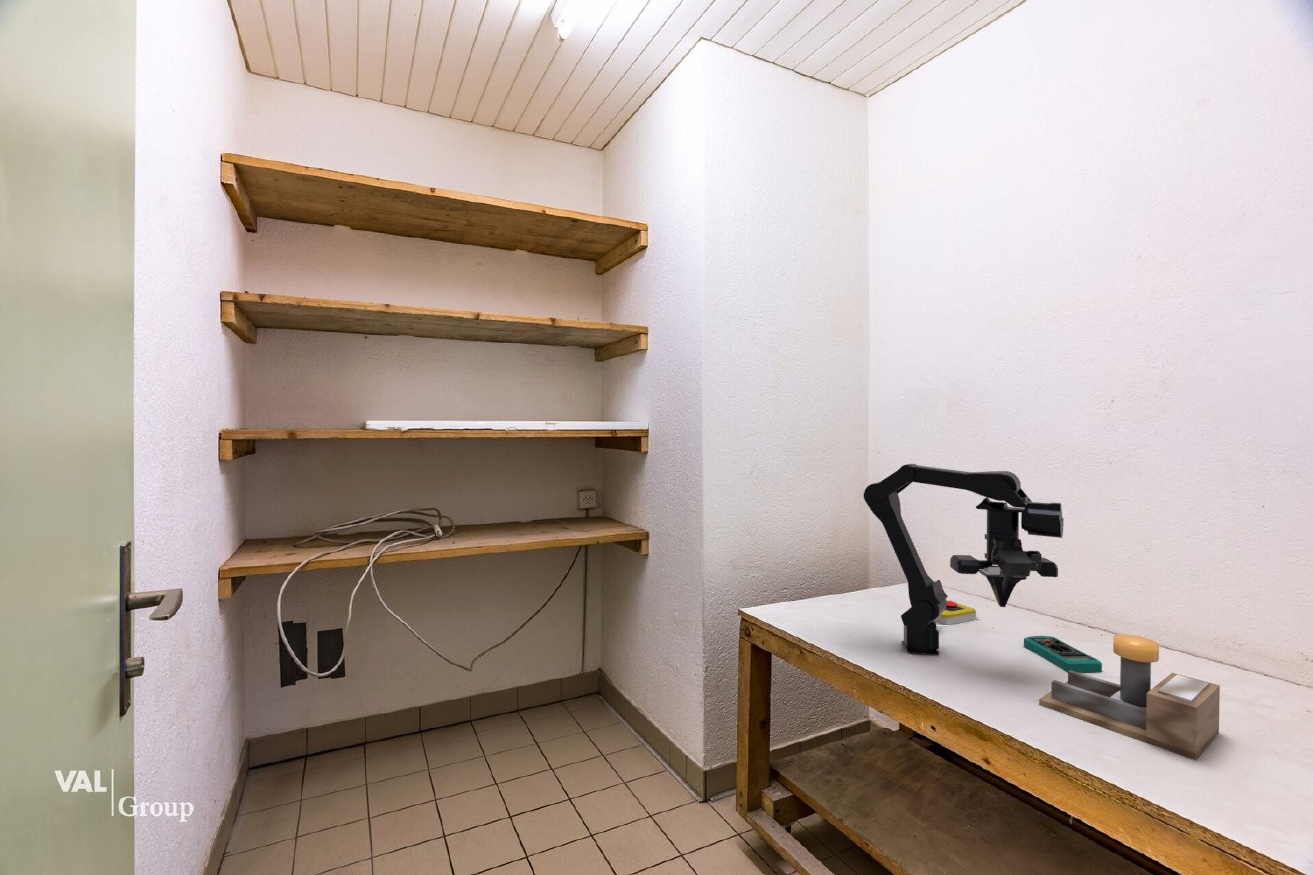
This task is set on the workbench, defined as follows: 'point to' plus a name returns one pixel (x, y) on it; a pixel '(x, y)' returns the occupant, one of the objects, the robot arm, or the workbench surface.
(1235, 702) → the workbench surface
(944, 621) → the emergency button
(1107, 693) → the knob mount
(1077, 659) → the digital multimeter
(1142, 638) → the knob carriage
